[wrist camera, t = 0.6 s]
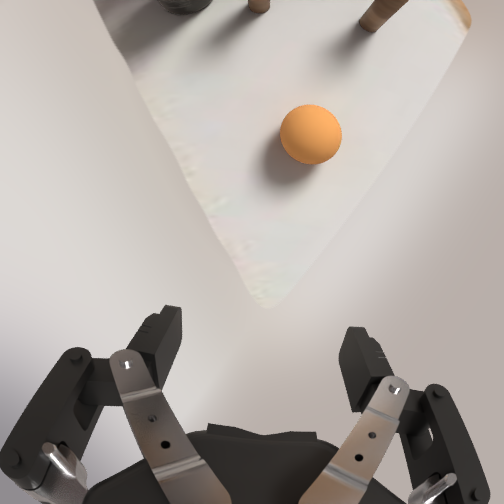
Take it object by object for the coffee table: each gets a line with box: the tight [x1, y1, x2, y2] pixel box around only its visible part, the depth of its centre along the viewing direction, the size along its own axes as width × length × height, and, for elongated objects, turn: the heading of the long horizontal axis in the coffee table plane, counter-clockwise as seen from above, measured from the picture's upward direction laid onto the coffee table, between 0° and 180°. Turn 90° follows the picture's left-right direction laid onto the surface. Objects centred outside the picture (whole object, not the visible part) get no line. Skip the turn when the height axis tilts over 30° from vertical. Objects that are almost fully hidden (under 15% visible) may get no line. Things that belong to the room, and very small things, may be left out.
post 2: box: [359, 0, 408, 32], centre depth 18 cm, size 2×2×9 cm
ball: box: [280, 105, 342, 164], centre depth 25 cm, size 6×6×6 cm
